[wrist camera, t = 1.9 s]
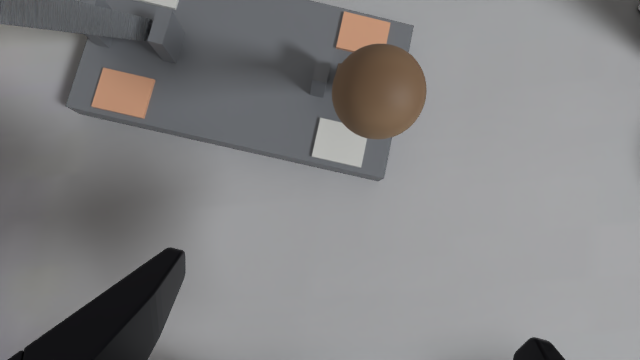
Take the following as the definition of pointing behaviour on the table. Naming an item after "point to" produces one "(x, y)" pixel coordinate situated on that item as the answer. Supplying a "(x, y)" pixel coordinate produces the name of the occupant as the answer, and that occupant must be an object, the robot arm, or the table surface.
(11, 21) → the steel lever
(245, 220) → the table surface
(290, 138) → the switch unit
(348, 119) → the walnut lever
